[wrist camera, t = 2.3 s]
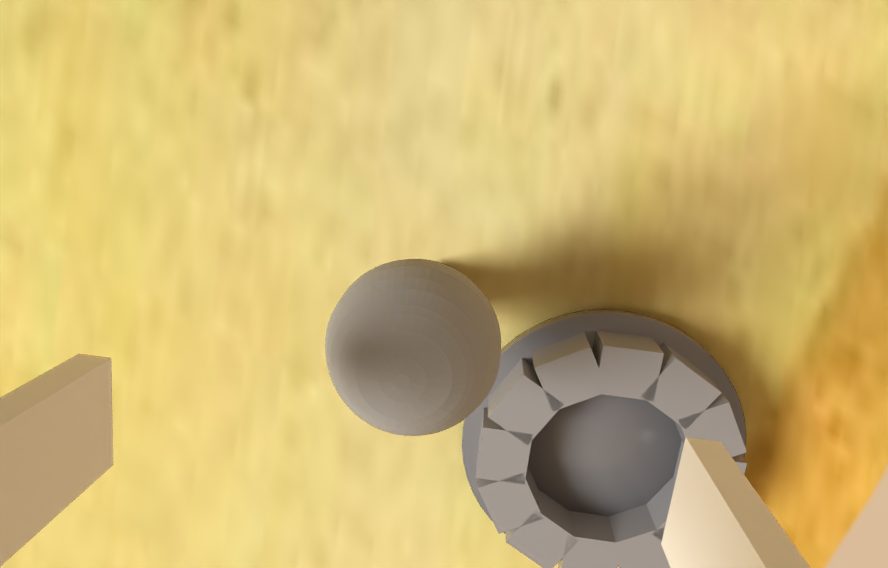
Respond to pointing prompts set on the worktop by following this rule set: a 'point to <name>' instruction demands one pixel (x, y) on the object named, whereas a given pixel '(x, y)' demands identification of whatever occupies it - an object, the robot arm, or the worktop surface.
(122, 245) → the worktop surface
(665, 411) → the socket
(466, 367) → the light bulb
